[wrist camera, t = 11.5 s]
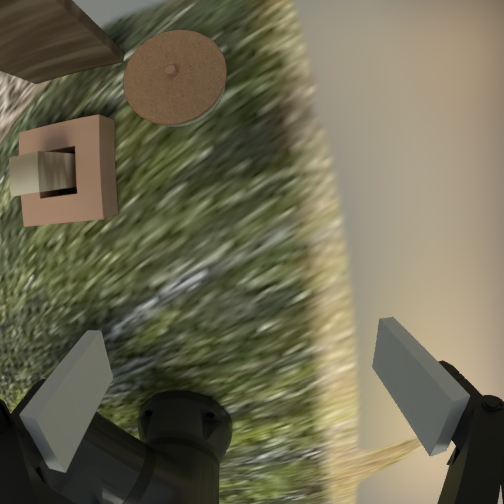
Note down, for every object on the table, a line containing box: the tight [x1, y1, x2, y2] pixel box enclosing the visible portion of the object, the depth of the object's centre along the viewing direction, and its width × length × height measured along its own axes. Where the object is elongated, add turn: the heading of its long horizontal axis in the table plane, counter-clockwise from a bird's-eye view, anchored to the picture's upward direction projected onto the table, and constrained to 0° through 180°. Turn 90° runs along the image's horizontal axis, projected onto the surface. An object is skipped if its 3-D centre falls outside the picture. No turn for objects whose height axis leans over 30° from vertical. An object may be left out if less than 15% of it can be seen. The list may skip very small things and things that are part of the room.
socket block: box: [19, 114, 118, 227], centre depth 35 cm, size 12×12×5 cm
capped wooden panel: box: [0, 0, 124, 84], centre depth 19 cm, size 7×16×32 cm, turn 92°
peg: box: [9, 151, 77, 197], centre depth 31 cm, size 4×4×12 cm
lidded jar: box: [123, 30, 227, 127], centre depth 31 cm, size 11×11×9 cm
